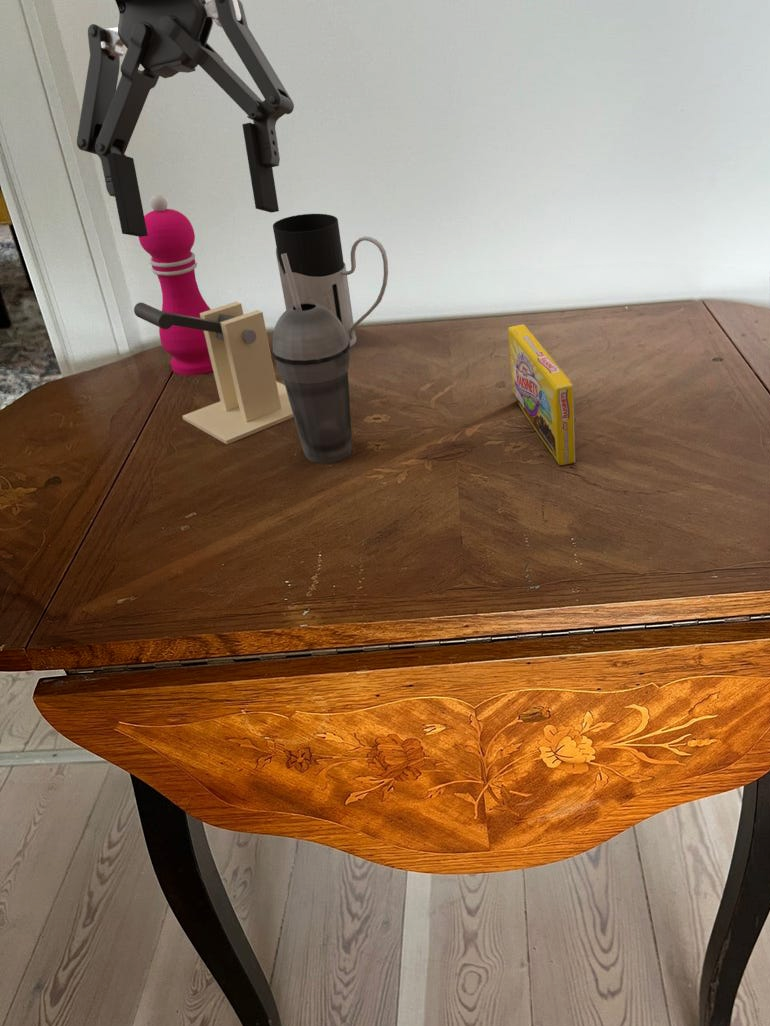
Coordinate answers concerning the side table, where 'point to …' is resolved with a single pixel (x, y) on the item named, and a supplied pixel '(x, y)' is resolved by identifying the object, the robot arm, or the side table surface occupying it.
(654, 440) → the side table surface
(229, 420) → the lever mount
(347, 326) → the glass holder
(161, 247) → the pepper mill
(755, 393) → the side table surface
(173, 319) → the wooden stand lever
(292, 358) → the beverage cup
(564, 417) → the candy box
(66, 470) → the side table surface
